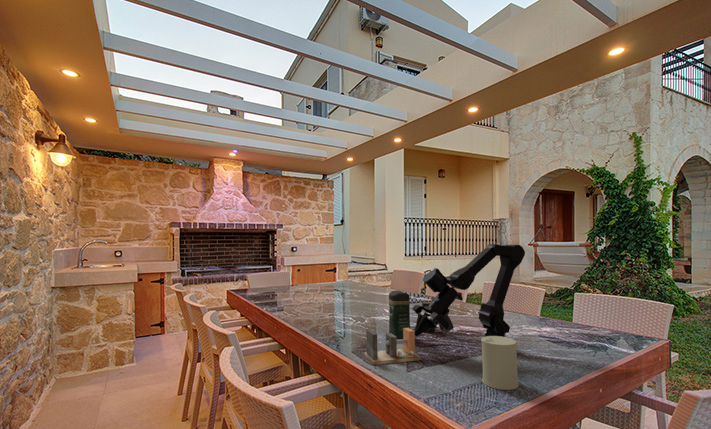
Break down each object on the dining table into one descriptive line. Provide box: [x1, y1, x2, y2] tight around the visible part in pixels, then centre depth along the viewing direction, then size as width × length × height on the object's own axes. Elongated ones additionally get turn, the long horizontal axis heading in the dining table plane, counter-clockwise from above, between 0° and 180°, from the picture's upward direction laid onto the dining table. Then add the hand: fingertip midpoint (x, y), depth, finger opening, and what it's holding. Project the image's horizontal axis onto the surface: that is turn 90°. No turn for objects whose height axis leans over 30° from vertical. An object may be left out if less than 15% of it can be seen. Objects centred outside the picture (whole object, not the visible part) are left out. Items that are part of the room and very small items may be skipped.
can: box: [480, 336, 520, 391], centre depth 97 cm, size 9×9×12 cm
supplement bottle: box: [421, 301, 437, 333], centre depth 155 cm, size 7×7×12 cm
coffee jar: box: [388, 290, 411, 340], centre depth 146 cm, size 10×8×19 cm
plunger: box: [385, 327, 416, 355], centre depth 118 cm, size 9×8×8 cm
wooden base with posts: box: [363, 328, 422, 366], centre depth 119 cm, size 16×10×9 cm, turn 105°
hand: (415, 335), depth 121 cm, fingers closed
